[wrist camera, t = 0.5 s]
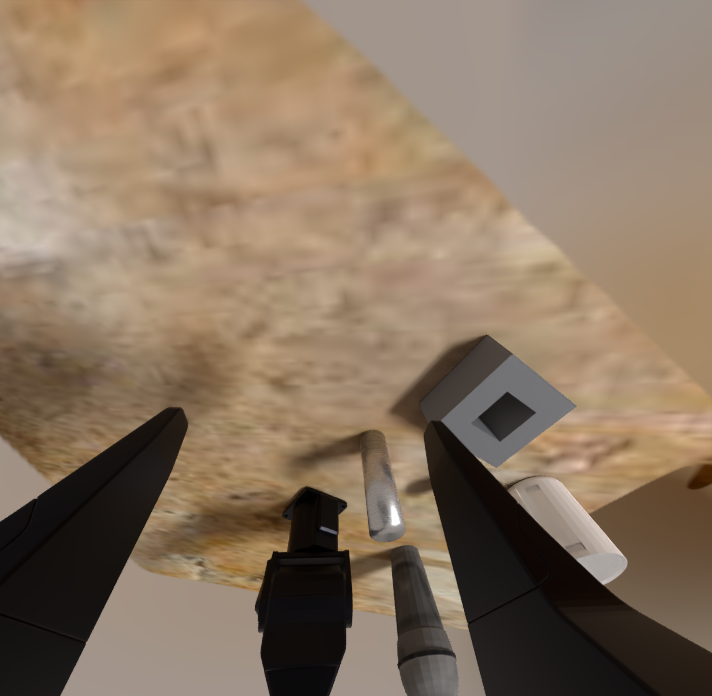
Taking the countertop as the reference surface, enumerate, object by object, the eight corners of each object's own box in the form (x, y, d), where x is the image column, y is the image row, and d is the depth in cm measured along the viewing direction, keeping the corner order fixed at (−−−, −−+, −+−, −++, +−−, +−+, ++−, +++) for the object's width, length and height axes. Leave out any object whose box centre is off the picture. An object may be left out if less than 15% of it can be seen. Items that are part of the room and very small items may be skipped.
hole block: (478, 439, 31) (496, 467, 28) (418, 403, 28) (430, 429, 25) (546, 382, 28) (576, 406, 25) (487, 334, 25) (512, 353, 21)
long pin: (374, 452, 31) (389, 545, 22) (354, 442, 30) (362, 535, 21) (390, 436, 30) (412, 527, 21) (370, 426, 29) (384, 516, 20)
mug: (569, 496, 38) (634, 573, 30) (513, 522, 40) (559, 601, 32) (542, 453, 33) (610, 531, 25) (480, 485, 35) (524, 566, 27)
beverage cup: (388, 539, 40) (431, 799, 22) (432, 541, 41) (507, 790, 23) (377, 564, 43) (407, 809, 25) (419, 565, 44) (475, 801, 26)
